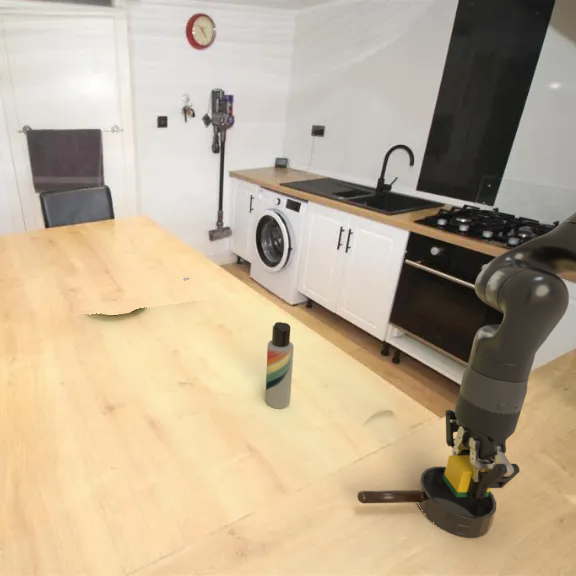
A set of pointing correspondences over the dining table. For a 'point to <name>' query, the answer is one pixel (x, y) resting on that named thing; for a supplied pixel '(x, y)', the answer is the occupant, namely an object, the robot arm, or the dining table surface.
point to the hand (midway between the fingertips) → (465, 485)
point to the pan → (454, 507)
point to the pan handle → (391, 496)
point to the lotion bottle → (279, 367)
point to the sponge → (459, 474)
